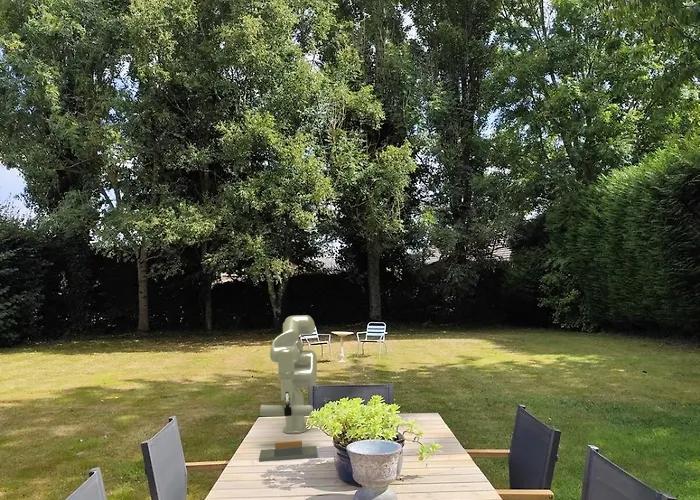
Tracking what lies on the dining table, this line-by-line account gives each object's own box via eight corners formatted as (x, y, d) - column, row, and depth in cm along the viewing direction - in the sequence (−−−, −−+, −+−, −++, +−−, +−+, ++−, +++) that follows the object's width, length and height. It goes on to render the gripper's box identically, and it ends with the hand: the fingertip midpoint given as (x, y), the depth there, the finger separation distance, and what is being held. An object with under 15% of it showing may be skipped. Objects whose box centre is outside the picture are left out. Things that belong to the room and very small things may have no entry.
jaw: (275, 448, 254) (275, 442, 254) (302, 446, 255) (301, 440, 255) (275, 449, 253) (275, 442, 253) (302, 447, 254) (301, 441, 254)
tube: (314, 405, 266) (263, 405, 270) (312, 403, 262) (260, 403, 265) (314, 416, 265) (262, 416, 268) (312, 415, 260) (259, 415, 263)
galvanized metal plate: (260, 453, 253) (260, 443, 254) (316, 449, 256) (316, 439, 256) (259, 461, 241) (258, 450, 242) (317, 457, 244) (317, 446, 244)
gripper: (279, 372, 274) (280, 410, 273) (278, 379, 257) (279, 419, 256) (294, 371, 274) (296, 409, 274) (294, 378, 257) (296, 418, 257)
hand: (288, 413), depth 265 cm, fingers closed on tube, 5 cm apart
